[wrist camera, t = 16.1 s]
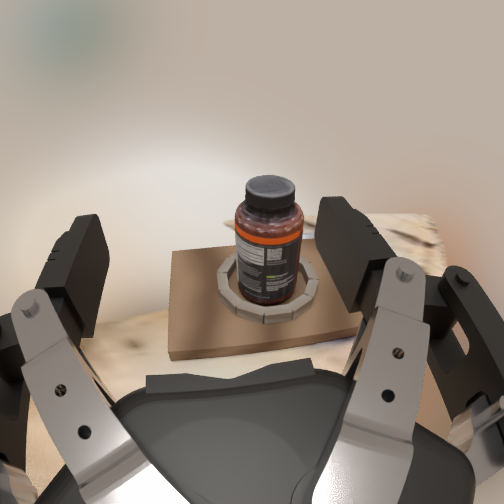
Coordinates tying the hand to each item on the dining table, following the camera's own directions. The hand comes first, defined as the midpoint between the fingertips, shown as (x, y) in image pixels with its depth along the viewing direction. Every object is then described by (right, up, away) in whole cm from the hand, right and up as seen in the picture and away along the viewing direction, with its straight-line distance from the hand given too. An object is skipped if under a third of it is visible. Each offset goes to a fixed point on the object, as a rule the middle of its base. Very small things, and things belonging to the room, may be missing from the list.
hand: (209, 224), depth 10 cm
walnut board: (+3, -5, +21) cm, 22 cm away
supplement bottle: (+3, -5, +20) cm, 21 cm away
